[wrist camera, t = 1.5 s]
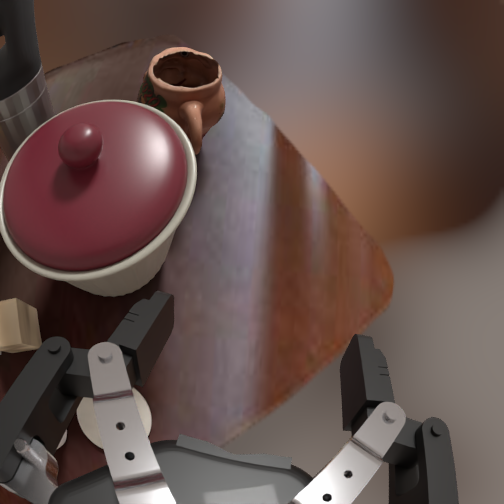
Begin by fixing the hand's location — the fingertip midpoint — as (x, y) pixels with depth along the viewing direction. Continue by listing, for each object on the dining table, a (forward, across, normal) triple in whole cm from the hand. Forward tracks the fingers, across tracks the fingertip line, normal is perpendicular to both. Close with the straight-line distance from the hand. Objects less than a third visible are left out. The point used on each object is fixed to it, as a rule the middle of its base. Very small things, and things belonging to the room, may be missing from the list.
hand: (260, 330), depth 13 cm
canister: (+19, +20, +10) cm, 29 cm away
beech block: (+6, +28, +17) cm, 33 cm away
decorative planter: (+36, +18, -2) cm, 40 cm away
